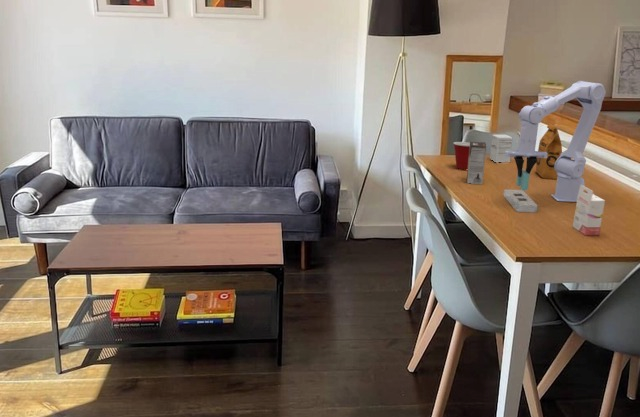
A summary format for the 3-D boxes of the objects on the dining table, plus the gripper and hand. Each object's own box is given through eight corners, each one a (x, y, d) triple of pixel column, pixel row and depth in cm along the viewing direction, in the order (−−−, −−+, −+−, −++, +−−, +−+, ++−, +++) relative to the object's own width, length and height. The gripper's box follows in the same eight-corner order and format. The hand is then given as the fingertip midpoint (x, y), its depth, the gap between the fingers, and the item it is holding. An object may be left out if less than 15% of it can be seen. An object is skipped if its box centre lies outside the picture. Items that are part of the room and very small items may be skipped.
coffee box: (466, 178, 252) (469, 141, 247) (481, 179, 250) (485, 142, 245) (466, 183, 243) (470, 145, 238) (482, 184, 242) (486, 146, 237)
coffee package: (537, 178, 252) (544, 128, 245) (533, 171, 264) (539, 123, 257) (562, 180, 251) (569, 129, 244) (556, 173, 262) (563, 124, 255)
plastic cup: (478, 168, 269) (481, 142, 266) (470, 172, 261) (473, 146, 257) (455, 164, 275) (458, 139, 271) (447, 169, 266) (449, 143, 262)
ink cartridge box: (600, 235, 186) (607, 191, 182) (585, 235, 186) (592, 191, 181) (586, 226, 195) (593, 183, 190) (571, 226, 194) (578, 183, 190)
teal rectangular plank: (521, 184, 219) (523, 169, 218) (527, 190, 212) (529, 174, 210) (516, 184, 220) (518, 169, 218) (521, 190, 212) (523, 174, 210)
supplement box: (489, 160, 285) (491, 134, 281) (503, 159, 286) (506, 134, 282) (495, 163, 278) (498, 137, 274) (510, 163, 279) (513, 137, 275)
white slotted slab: (521, 196, 227) (522, 190, 226) (536, 212, 208) (537, 205, 207) (503, 195, 227) (504, 189, 227) (516, 211, 208) (517, 205, 208)
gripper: (510, 141, 207) (505, 178, 211) (552, 142, 206) (546, 180, 210) (505, 137, 213) (501, 173, 218) (545, 138, 213) (540, 175, 217)
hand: (523, 176), depth 214 cm, fingers closed on teal rectangular plank, 2 cm apart
